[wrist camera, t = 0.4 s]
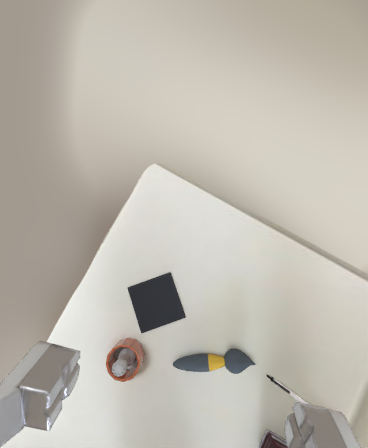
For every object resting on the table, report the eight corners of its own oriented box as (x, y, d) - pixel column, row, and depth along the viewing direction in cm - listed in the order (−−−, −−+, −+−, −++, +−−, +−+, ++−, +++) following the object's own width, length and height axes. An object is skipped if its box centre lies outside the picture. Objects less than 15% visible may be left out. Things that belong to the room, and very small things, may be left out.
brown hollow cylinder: (147, 365, 57) (143, 374, 53) (118, 376, 57) (111, 386, 53) (138, 333, 58) (133, 340, 54) (109, 344, 58) (102, 351, 54)
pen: (267, 373, 55) (269, 375, 54) (337, 424, 53) (340, 427, 52) (265, 376, 55) (267, 378, 54) (336, 427, 53) (339, 431, 52)
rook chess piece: (129, 341, 58) (119, 355, 50) (140, 355, 57) (131, 372, 49) (116, 353, 58) (103, 369, 50) (127, 367, 57) (116, 385, 49)
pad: (185, 316, 58) (185, 317, 58) (141, 332, 58) (141, 333, 58) (170, 272, 60) (170, 272, 59) (128, 287, 60) (127, 287, 59)
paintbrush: (175, 377, 56) (174, 389, 51) (172, 356, 57) (170, 366, 52) (253, 363, 56) (259, 374, 51) (249, 342, 57) (254, 350, 52)
